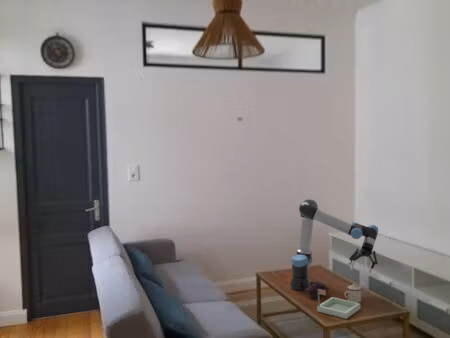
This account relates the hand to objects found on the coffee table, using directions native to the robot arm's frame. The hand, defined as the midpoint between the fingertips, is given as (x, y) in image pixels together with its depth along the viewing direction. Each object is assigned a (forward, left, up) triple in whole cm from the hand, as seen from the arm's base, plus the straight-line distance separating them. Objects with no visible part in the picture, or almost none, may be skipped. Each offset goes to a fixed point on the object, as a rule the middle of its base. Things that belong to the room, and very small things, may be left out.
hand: (360, 270), depth 305 cm
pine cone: (-24, -18, -18) cm, 35 cm away
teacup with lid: (-1, -11, -18) cm, 22 cm away
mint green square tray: (-1, -31, -18) cm, 36 cm away
